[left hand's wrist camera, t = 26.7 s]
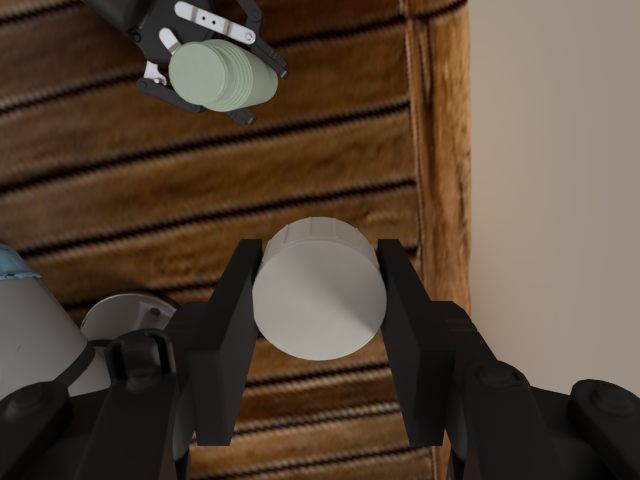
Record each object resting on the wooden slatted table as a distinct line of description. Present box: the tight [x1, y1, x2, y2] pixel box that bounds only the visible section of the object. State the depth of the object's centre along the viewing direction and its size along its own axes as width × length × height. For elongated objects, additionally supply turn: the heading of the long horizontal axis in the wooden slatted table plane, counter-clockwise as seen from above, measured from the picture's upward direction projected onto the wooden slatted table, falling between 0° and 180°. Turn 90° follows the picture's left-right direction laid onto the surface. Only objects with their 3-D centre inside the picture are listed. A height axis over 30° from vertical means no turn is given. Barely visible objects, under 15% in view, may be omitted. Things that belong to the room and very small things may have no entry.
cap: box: [252, 217, 387, 360], centre depth 14 cm, size 4×4×2 cm
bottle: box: [169, 39, 278, 112], centre depth 32 cm, size 5×5×22 cm
